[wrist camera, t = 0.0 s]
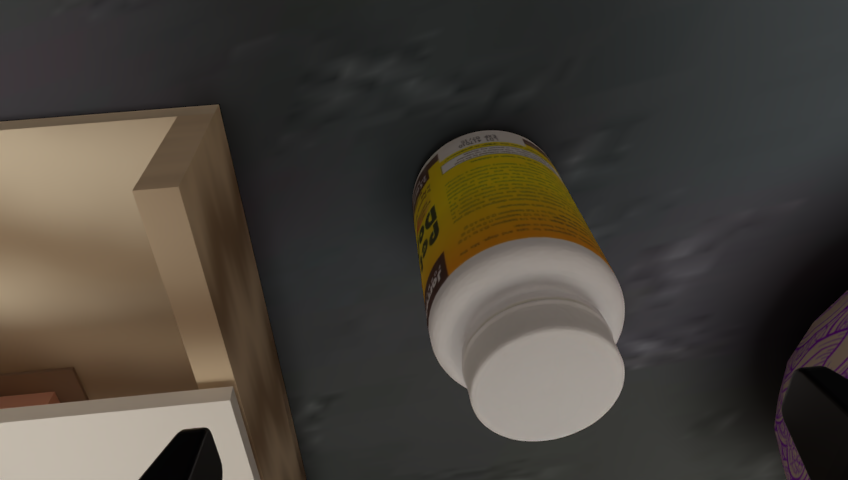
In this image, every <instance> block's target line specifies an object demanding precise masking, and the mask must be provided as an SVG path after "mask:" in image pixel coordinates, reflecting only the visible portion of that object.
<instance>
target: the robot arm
mask: <svg viewBox="0 0 848 480" xmlns="http://www.w3.org/2000/svg"><path fill="white" fill-rule="evenodd" d="M781 410H782V416H783V419H784V422H785V424H786V427H787V429H788V431H789V433H790V436H791V438H792V440H793V442H794V444H795V447H796V449H797V451H798V453H799V456H800V458H801V460H802V462H803V465H804V467H805V469H806V471H807V474H808V476H809V478H810V480H848V379H847V378H845V377H844V376H842V375H840V374H838V373H837V372H835V371H833V370H831V369H829V368H827V367H824V366H812V367H802V368H798V369H796V370H795V371H794V372H793V374H792V376H791V379H790V382H789V385H788V388H787V390H786V393H785V396H784V399H783V402H782V409H781ZM222 478H223V470H222V463H221V459H220V456H219V453H218V450H217V448H216V445H215V442H214V439H213V436H212V433H211V431H210V430H209V429H208V428H205V427H201V428H191V429H183V430H181V431H179V432H178V433H177V434H176V435H175V436H174V438H173V439H172V440H171V441H170V442H169V444H168V445H167V446H166V447H165V448H164V450H163V451H162V452H161V453H160V454H159V455H158V457H157V458H156V459H155V460H154V461H153V463H152V464H151V465H150V466H149V467H148V469H147V470H146V471H145V472H144V473H143V475H142V476H141V477H140V478H139V479H138V480H222Z"/></svg>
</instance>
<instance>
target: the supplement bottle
mask: <svg viewBox="0 0 848 480" xmlns="http://www.w3.org/2000/svg"><path fill="white" fill-rule="evenodd" d="M412 209H413V219H414V226H415V234H416V241H417V249H418V256H419V264H420V270H421V280H422V288H423V295H424V302H425V310H426V315H427V326H428V331H429V336H430V340H431V345H432V348H433V351H434V354H435V356H436V358H437V360H438V362H439V363H440V365H441V366H442V368H443V369H444V370H445V371H446V372H447V374H448V375H449V376H450V377H451V378H452V379H454V380H455V381H456V382H458V383H459V384H461V385H462V386H464V387H465V388H467V389H468V393H469V397H470V401H471V405H472V408H473V410H474V412H475V414H476V416H477V417H478V419H479V420H480V421H481V422H482V423H483V424H484V425H485V426H486V427H487V428H489V429H490V430H492V431H493V432H495V433H497V434H499V435H502V436H504V437H507V438H510V439H514V440H520V441H546V440H553V439H558V438H561V437H565V436H568V435H571V434H573V433H576V432H578V431H580V430H582V429H585V428H586V427H588V426H590V425H591V424H593V423H594V422H596V421H597V420H598V419H600V418H601V417H602V416H603V415H604V414H605V413H606V412H607V411H608V410H609V409H610V408H611V407H612V406H613V404H614V403H615V401H616V400H617V398H618V396H619V394H620V392H621V390H622V387H623V383H624V378H625V375H624V374H625V369H624V363H623V359H622V357H621V355H620V353H619V350H618V348H617V346H616V343H617V341H618V339H619V337H620V334H621V331H622V328H623V324H624V317H625V304H624V297H623V293H622V290H621V287H620V285H619V282H618V280H617V278H616V276H615V274H614V272H613V270H612V269H611V267H610V265H609V263H608V262H607V260H606V258H605V256H604V254H603V253H602V251H601V249H600V247H599V246H598V244H597V242H596V240H595V239H594V237H593V235H592V233H591V231H590V230H589V228H588V226H587V224H586V222H585V221H584V219H583V217H582V215H581V214H580V212H579V210H578V208H577V206H576V204H575V203H574V201H573V199H572V197H571V195H570V194H569V192H568V190H567V188H566V186H565V185H564V183H563V181H562V179H561V178H560V176H559V174H558V172H557V170H556V168H555V167H554V165H553V164H552V162H551V160H550V159H549V158H548V156H547V155H546V154H545V153H544V152H543V151H542V150H541V149H540V148H539V147H538V146H537V145H535V144H534V143H533V142H531V141H530V140H528V139H526V138H524V137H522V136H520V135H517V134H514V133H510V132H506V131H498V130H486V131H478V132H473V133H469V134H466V135H463V136H460V137H458V138H456V139H454V140H452V141H450V142H448V143H447V144H445V145H444V146H442V147H441V148H440V149H439V150H437V151H436V152H435V153H434V154H433V155H432V156H431V157H430V158H429V159H428V161H427V162H426V163H425V165H424V166H423V168H422V169H421V171H420V173H419V175H418V177H417V180H416V183H415V186H414V190H413V198H412Z"/></svg>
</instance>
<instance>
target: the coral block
mask: <svg viewBox="0 0 848 480" xmlns="http://www.w3.org/2000/svg"><path fill="white" fill-rule="evenodd" d="M56 403H60V401H59V399H58V397H57V396H56V394H55V392H44V393H34V394H24V395H13V396H3V397H0V409H5V408H15V407H25V406H35V405H45V404H56Z"/></svg>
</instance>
